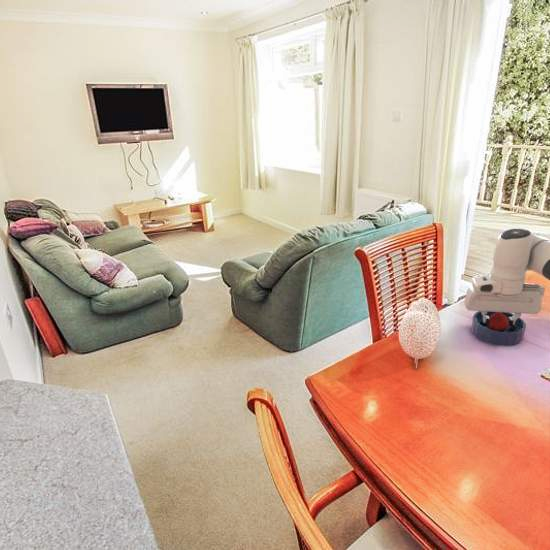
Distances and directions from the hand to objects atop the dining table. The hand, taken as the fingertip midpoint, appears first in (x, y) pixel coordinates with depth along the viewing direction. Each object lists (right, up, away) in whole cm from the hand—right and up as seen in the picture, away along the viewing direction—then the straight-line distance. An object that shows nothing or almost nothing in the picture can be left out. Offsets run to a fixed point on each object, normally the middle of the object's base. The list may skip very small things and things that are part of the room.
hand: (498, 322), depth 117 cm
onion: (0, -4, +2) cm, 4 cm away
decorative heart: (-28, -10, -6) cm, 30 cm away
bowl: (0, -4, +2) cm, 4 cm away
